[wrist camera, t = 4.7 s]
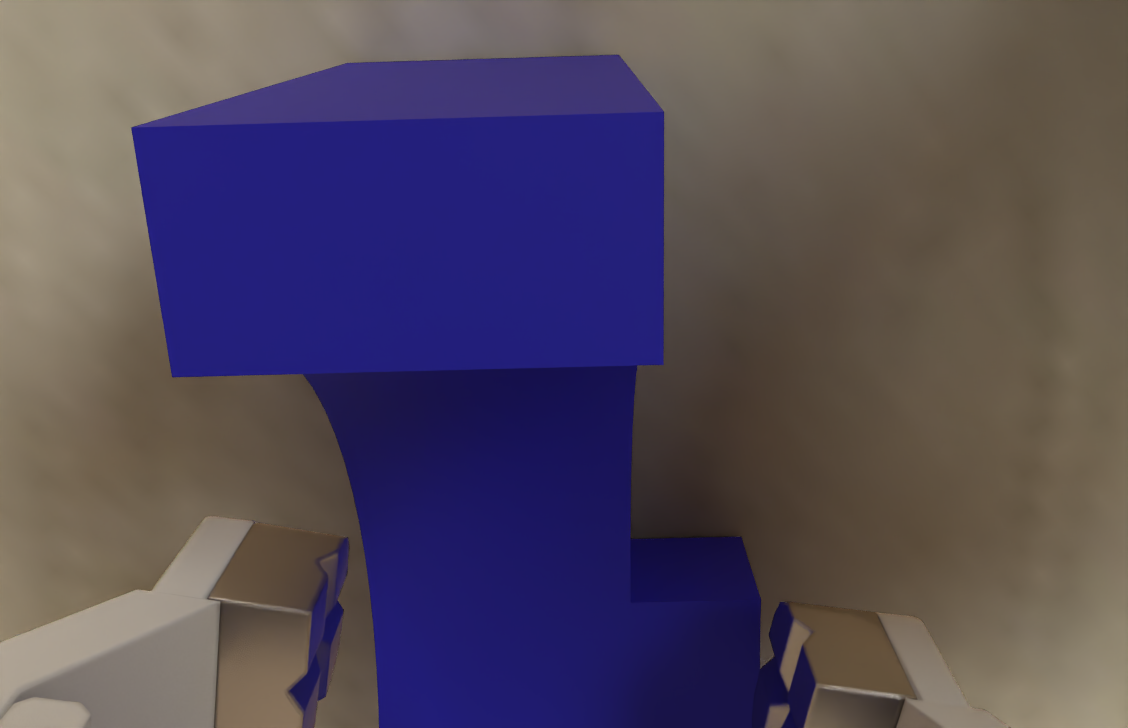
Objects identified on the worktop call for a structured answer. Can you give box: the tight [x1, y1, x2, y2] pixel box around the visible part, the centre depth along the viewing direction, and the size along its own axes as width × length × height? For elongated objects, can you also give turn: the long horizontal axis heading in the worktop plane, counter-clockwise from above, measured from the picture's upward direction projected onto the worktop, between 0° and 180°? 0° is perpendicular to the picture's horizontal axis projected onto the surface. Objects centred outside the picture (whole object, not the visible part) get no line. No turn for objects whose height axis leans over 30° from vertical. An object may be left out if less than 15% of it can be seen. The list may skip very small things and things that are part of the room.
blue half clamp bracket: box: [131, 55, 761, 728], centre depth 11 cm, size 12×4×6 cm, turn 2°
